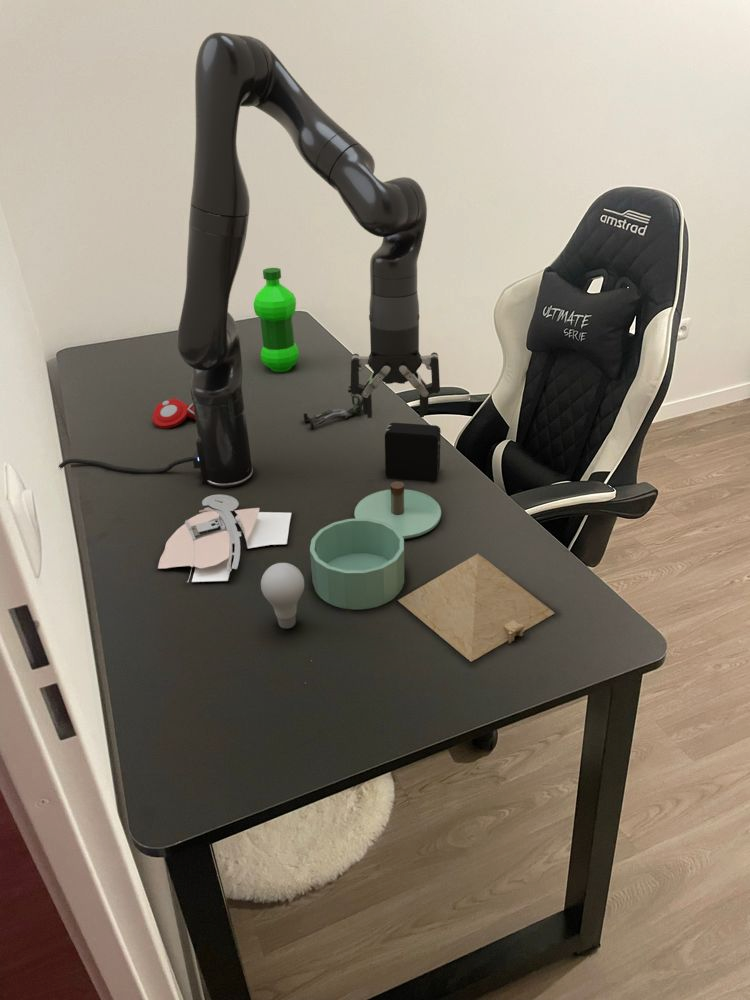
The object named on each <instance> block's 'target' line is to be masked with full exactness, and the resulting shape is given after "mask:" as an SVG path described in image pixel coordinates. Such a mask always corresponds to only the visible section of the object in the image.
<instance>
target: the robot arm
mask: <svg viewBox="0 0 750 1000" xmlns="http://www.w3.org/2000/svg"><path fill="white" fill-rule="evenodd" d="M197 53H198V54H197V56H196V63H195V77H194V81H195V82H194V87H195V88H194V92H195V93H194V96H195V97H194V100H195V101H194V103H195V104H194V105H195V143H194V159H193V161H194V162H193V177H192V178H193V179H192V189H191V196H190V207H189V218H188V237H187V238H188V239H187V251H186V252H187V254H186V283H185V292H184V298H183V304H182V308H181V314H180V318H179V323H178V329H177V334H176V346H177V349H178V353H179V354H180V356H181V358H182V360H183V361H184V362H185V363H186V364H187V365H188V367H191V368H192V373H191V375H192V376H191V378H190V379H191V380H190V384H189V388H190V396H191V401H192V403H193V408H194V414H195V420H194V421H195V424H196V430H197V436H196V438H195V445H196V449H195V452H194V454H193V456H189V457H183V458H180V459H176V460H174V461H172V462H170V463H169V464H168V465H167V466H165V467H161V468H160V467H159V468H150V469H149V468H147V469H146V468H135V467H124V466H119V465H114V464H110V463H107V462H103V461H99V460H91V459H90V460H89V459H83V458H68V459H65V460H64V461H62V462H61V463H59V465H58V468H59V467H60V468H59V469H62V468H64V467H65V466H67V465H69V464H81V465H89V466H90V465H91V466H98V467H103V468H105V469H106V468H107V469H109V470H113V471H118V472H125V473H126V472H127V473H133V474H134V473H135V474H161V473H165V472H168V471H171V469H172V468H174V467H175V466H178V465H181V464H185V463H190V462H192V463H193V468H194V469H200V474H201V480H202V484H203V485H209V486H211V487H214V488H217V489H219V488H220V489H230V488H235V487H239V486H242V485H244V484H246V483H248V482H249V481H250V480H252V478H253V476H254V469H253V463H252V462H253V461H252V459H253V458H252V454H251V448H250V441H249V433H248V426H247V418H246V411H245V403H244V396H243V387H242V386H243V385H242V383H243V375H244V374H243V372H244V371H243V361H242V349H241V340H240V339H241V338H240V332H239V328H238V324H237V323H236V320H235V319H234V317H233V316H232V315H231V313H230V312H229V304H230V296H231V292H232V289H233V285H234V281H235V278H236V276H237V273H238V269H239V266H240V262H241V260H242V256H243V252H244V249H245V245H246V240H247V234H248V225H249V219H250V218H249V217H250V207H251V200H250V192H249V188H248V184H247V181H246V178H245V175H244V172H243V169H242V164H241V163H240V159H239V155H238V147H237V136H238V125H239V115H240V112H241V111H240V110H241V107H242V108H243V107H246V108H247V107H248V108H249V107H250V108H251V107H254V108H256V109H258V110H260V111H262V112H263V113H265V114H266V115H268V116H269V117H271V118H272V119H273V120H275V121H276V122H277V123H278V124H280V125H281V126H282V128H283V129H284V130H285V131H286V132H287V134H288V135H289V137H290V139H291V140H292V143H293V144H294V146H295V149H296V151H297V152H298V153H299V155H300V157H301V158H302V160H303V161H304V163H306V165H308V167H309V168H310V169H311V170H312V171H314V172H315V173H316V174H317V175H318V176H319V177H320V178H321V179H322V180H323V181H324V182H326V183H327V184H328V185H329V186H330V187H331V188H333V189H334V190H335V191H336V192H337V193H338V195H339V196H340V198H341V200H342V202H343V203H344V205H345V206H346V208H347V209H348V211H349V212H350V214H351V216H352V217H353V218H354V220H355V221H356V222H357V223H358V225H360V227H361V228H362V229H364V230H365V231H366V232H368V233H369V234H371V235H373V236H376V237H378V238H382V242H381V244H380V246H379V247H378V249H377V250H375V252H373V254H372V255H371V257H370V260H369V281H370V283H369V284H370V286H369V287H370V297H369V305H368V306H369V307H368V308H369V309H368V310H369V315H368V320H369V333H370V334H369V336H370V337H369V339H370V353H369V355H368V356H363V355H362V356H361V355H360V354H359V353H353V354H352V356H351V359H350V360H351V361H350V385H351V388H350V390H351V392H350V394H357V395H358V396H361V397H362V398H363V405H362V413H363V415H365V416H367V419H372V418H373V400H372V399H373V397H372V393H373V391H375V389H377V388H378V387H379V385H381V383H385V385H391V384H398V385H399V384H400V385H401V384H402V385H403V384H406V383H407V382H408V383H409V384H411V386H412V388H414V389H416V391H417V392H418V393H419V418H425V415H428V413H429V399H430V395H433V394H438V393H440V392H441V383H440V382H441V381H440V361H439V360H440V359H439V354H438V353H437V352H436V351H435V352H432V353H431V354H429V355H421V353H420V303H419V295H418V261H419V256H420V253H421V248H422V244H423V243H422V242H423V240H424V234H425V230H426V224H427V217H428V205H427V199H426V195H425V192H424V190H423V188H422V187H421V185H420V184H419V183H418V181H416V180H415V179H413V178H411V177H406V176H405V177H404V176H402V177H397V178H393V179H390V180H386V181H382V180H381V179H379V178H378V177H377V176H375V169H376V161H375V158H374V157H373V155H372V154H371V153H370V151H369V150H368V149H367V148H365V147H364V146H363V145H362V144H361V143H360V142H359V141H358V140H356V139H355V137H354V136H352V135H351V134H350V133H349V132H347V131H346V130H345V129H344V128H343V127H342V126H340V125H339V123H337V122H336V121H335V120H334V119H332V117H331V116H330V115H328V114H327V113H326V112H325V111H324V110H323V109H322V108H321V107H320V106H319V105H318V104H317V103H316V102H315V101H314V100H313V99H312V97H311V96H310V95H309V94H308V93H307V92H306V91H305V89H304V88H303V87H302V86H301V85H300V84H299V82H298V81H297V80H296V79H295V78H294V77H293V76H292V74H291V73H290V72H289V70H288V69H287V68H286V67H285V65H284V64H283V62H281V60H280V59H279V58H278V56H277V55H276V54H275V53H274V52H273V51H272V49H271V48H270V47H269V46H268V45H267V44H266V43H265V42H263V41H262V40H260V39H259V38H257V37H253V36H250V35H244V34H243V35H241V34H235V33H229V32H213V33H210V34H209V35H207V36H206V38H205V39H204V40H203V41H202V43H201V44H200V46H199V49H198V52H197ZM366 365H368V367H369V368H370V369H371V370H372V373H371V374H370V376H369V377H368V379H367V381H366V382H365V383H364V384H361V383H360V372H361V371H363V370H364V368H365V366H366ZM422 365H424V366H425V368H426V370H429V371H430V372H431V374H430V375H431V382H430V383H427V382H426V381H425V380H424V379H423V378H422V377H421V374H420V373H419V372H418V370H419V368H420V367H421V366H422Z"/></svg>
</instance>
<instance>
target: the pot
mask: <svg viewBox="0 0 750 1000" xmlns="http://www.w3.org/2000/svg"><path fill="white" fill-rule="evenodd" d="M309 557H310V568H311V569H310V570H311V580H312V584H313V588H314V591H315V593H316V595H317V596H318V597H319V598H320V599H321V600H323V601H324V602H326V604H329V605H331V606H333V607H337V608H340V609H344V610H352V611H353V610H357V611H358V610H360V611H361V610H368V609H373V608H377V607H381V606H382V605H385V604H388V603H389V602H391V601H392V600H393V599H395V598H396V597H397V596H398V595H399V594H400V593H401V591H402V589H403V588H404V584H405V539H404V538H403V537H402V535H401V534H400V533H399V531H398V530H397V529H396V528H394V527H392V526H390V525H389V524H387V523H385V522H382V521H377V520H373V519H369V518H366V519H355V518H347V519H342V520H339V521H334V522H332V523H330V524H328V525H326V526H324V527H322V528H321V529H319V530H318V531H317V532H316V533H315V535H314V536H313V537H312V538H311V540H310V545H309Z"/></svg>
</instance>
